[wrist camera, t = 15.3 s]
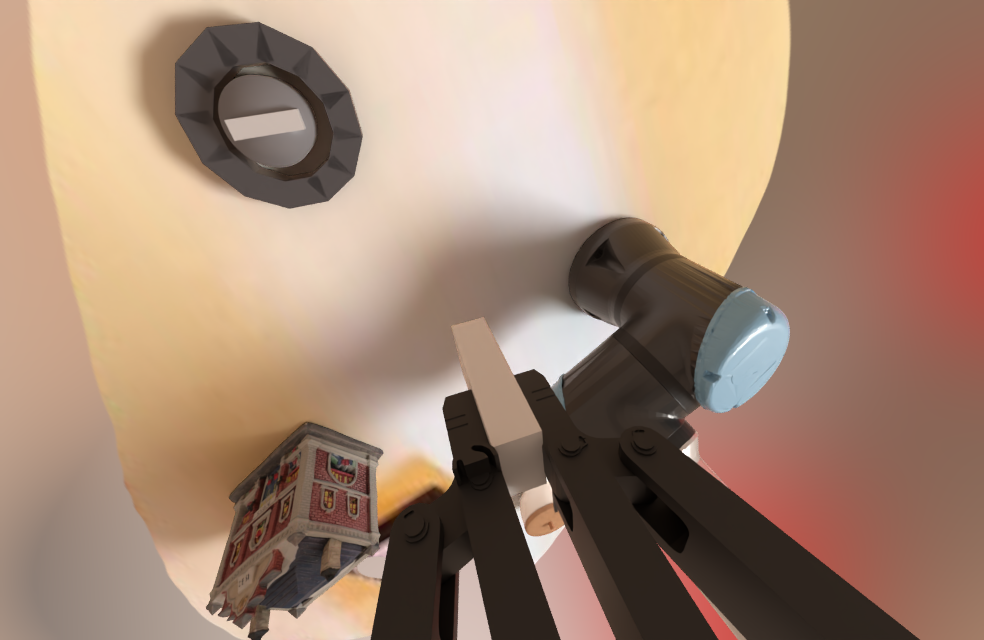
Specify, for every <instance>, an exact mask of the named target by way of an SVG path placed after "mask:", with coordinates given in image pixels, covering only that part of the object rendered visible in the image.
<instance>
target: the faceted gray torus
mask: <svg viewBox="0 0 984 640" xmlns="http://www.w3.org/2000/svg"><path fill="white" fill-rule="evenodd" d="M268 64H271V65H273V66H276V67H278V68H280V69H283V70H285V71H287V72H289V73H292V74H294V75H296V76H299V77H300V78H301V80H302V81H303V82H304V83H305V84H306V85H307V86H308V87H309V88H310V89H311V90H312V91H313V93H314V94H315V95H316V96H317V97H318V98H319V99H320V100H321V101H322V102H323V104H324V107H325V110H326V113H327V116H328V119H329V122H330V125H331V128H332V131H333V138H332V144H331V150H330V155H329V158H328V159H327V160H325V161H324V162H323V163H322V164H321V165H320V166H319V167H318V168H317V169H316V170H315V171H314V172H310V173H304V174H298V175H293V176H288V175H285V174H281V173H278V172H275V171H272V170H269V169H266V168H262V167H261V166H260V165H259V164H257V163H256V162H255V161H253V160H251V159H250V158H248V157H247V156H245V155H244V154H243V153H241V152H240V151H239V150H238V149H237V148H236V147H235V146H234V145H233V144H232V142H231V141H230V140H229V138H228V137H227V135H226V133H225V132H224V130H223V127H222V125H221V122H220V119H219V113H218V104H219V98H220V95H221V93H222V91H223V89H224V87H225V86H226V85H227V84H228V83H229V82H230V81H231V80H232V79H233V78H234V77H235V75H236V74H237V73H238V72H239V71H240V70H241V69H242V68H244V67H252V66H260V65H268ZM175 115H176V117H177V119H178V120H179V122H180V124H181V126H182V127H183V129H184V131H185V133H186V135H187V136H188V138H189V140H190V142H191V143H192V145H193V147H194V149H195V151H196V152H197V154H198V156H199V158H200V160H201V161H202V163H203V164H204V165H205V166H207V167H208V168H209V169H211V170H212V171H213V172H214V173H216V174H217V175H218V176H220V177H221V178H222V179H223V180H225V181H226V182H227V183H228V184H230V185H231V186H232V187H234V188H235V189H236V190H237V191H239V192H240V193H241V194H243V195H244V196H246V197H250V198H253V199H257V200H260V201H264V202H268V203H271V204H275V205H278V206H282V207H285V208H289V209H290V208H295V207H300V206H305V205H311V204H316V203H321V202H326V201H329V200H330V199H331V198H332V197H333V196H334V195H335V194H336V193H337V192H338V191H339V190H340V189H341V188H342V187H343V186H344V185H345V184H346V183H347V182H348V181H349V180H350V179H351V178H353V177H354V175H355V170H356V165H357V161H358V156H359V151H360V146H361V142H362V137H363V136H362V131H361V127H360V124H359V121H358V117H357V114H356V111H355V107H354V104H353V100H352V97H351V94H350V90H349V89H348V88H347V87H346V86H345V84H344V83H343V82H342V81H341V80H340V78H339V77H338V76H337V75H336V74H335V73H334V71H333V70H332V69H331V68H330V67H329V66H328V64H327V63H326V62H325V61H324V60H323V58H322V57H321V56H320V55H319V54H318V53H317V51H316V50H315V49H314V48H312V47H311V46H308V45H306V44H304V43H302V42H300V41H298V40H296V39H294V38H292V37H289V36H287V35H285V34H283V33H281V32H279V31H277V30H275V29H273V28H271V27H268V26H266V25H264V24H262V23H260V22H255V23H245V24H235V25H225V26H215V27H207V28H206V29H205V30H204V31H203V32H202V33H201V34H200V36H199V37H198V38H197V39H196V40H195V41H194V42H193V44H192V45H191V46H190V47H189V48H188V49H187V50H186V52H185V53H184V54H183V55H182V56H181V57H180V58H179V59H178V61H177V62H176V63H175Z"/></svg>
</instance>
